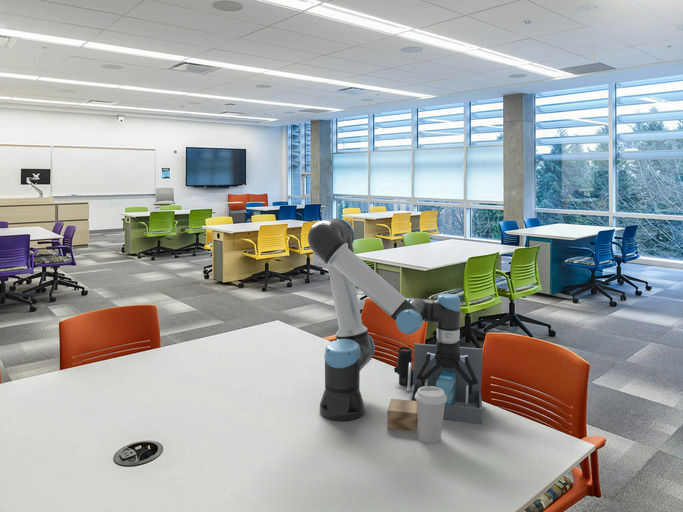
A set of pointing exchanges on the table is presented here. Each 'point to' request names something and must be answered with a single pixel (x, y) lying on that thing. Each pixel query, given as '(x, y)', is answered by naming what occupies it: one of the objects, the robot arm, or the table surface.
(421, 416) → the coffee cup
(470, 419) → the case
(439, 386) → the light blue box
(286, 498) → the table surface
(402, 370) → the scope
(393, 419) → the stand
